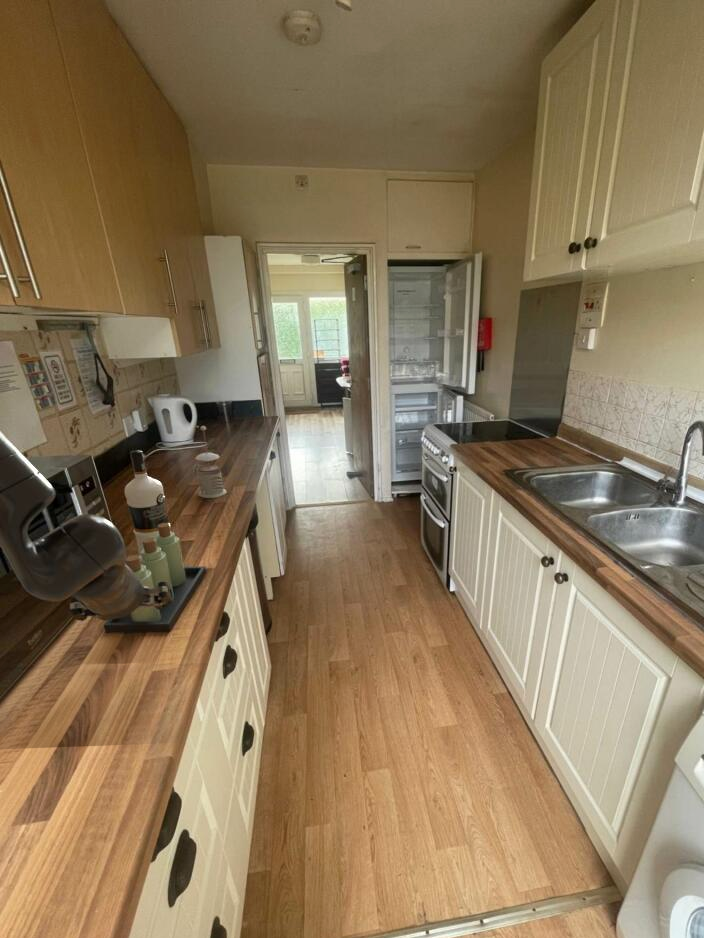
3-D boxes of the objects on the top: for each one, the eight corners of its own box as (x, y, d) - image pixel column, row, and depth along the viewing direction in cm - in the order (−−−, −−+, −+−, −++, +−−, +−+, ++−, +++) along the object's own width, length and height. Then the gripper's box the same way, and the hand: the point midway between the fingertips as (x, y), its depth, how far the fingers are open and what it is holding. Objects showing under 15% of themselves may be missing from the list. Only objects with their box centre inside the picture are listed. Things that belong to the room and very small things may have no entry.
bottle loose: (128, 628, 87) (111, 564, 81) (140, 613, 91) (125, 551, 85) (154, 628, 87) (139, 564, 81) (165, 612, 92) (151, 551, 86)
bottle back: (158, 587, 100) (146, 529, 95) (167, 575, 105) (156, 520, 99) (181, 586, 101) (170, 529, 95) (189, 575, 106) (179, 520, 100)
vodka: (157, 551, 118) (134, 444, 106) (186, 556, 115) (166, 447, 104) (130, 567, 109) (103, 453, 97) (161, 573, 107) (137, 457, 95)
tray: (106, 635, 86) (103, 625, 85) (154, 575, 106) (153, 566, 105) (170, 633, 86) (168, 624, 86) (206, 574, 107) (205, 566, 106)
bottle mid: (144, 606, 94) (129, 545, 88) (154, 592, 98) (141, 534, 92) (168, 605, 94) (156, 545, 88) (177, 592, 99) (166, 534, 93)
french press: (232, 491, 161) (224, 425, 151) (208, 501, 151) (198, 431, 141) (212, 486, 165) (203, 422, 155) (188, 496, 155) (176, 428, 145)
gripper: (160, 556, 67) (173, 581, 82) (51, 573, 62) (86, 597, 76) (165, 602, 65) (178, 620, 79) (52, 625, 60) (88, 639, 74)
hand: (133, 609), depth 78 cm, fingers open, 8 cm apart
